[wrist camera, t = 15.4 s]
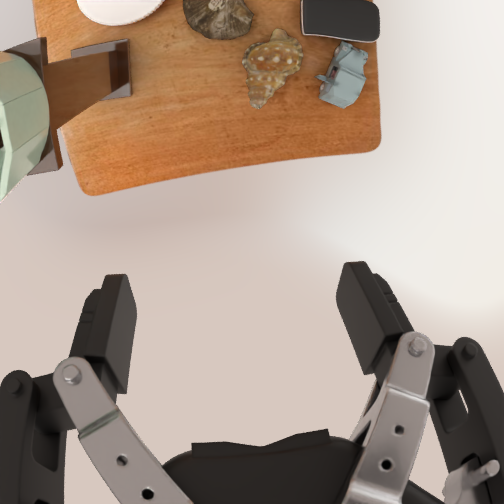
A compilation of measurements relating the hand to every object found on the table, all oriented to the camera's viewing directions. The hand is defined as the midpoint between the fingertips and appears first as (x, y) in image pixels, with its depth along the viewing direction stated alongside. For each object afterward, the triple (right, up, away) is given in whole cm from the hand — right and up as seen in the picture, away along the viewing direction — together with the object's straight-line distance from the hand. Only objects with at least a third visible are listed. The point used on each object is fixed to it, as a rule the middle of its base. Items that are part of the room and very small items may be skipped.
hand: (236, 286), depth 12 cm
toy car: (+13, +29, +31) cm, 44 cm away
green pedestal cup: (-21, +28, +26) cm, 44 cm away
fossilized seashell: (-4, +35, +24) cm, 42 cm away
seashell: (+3, +28, +30) cm, 41 cm away
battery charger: (+7, +34, +24) cm, 42 cm away
